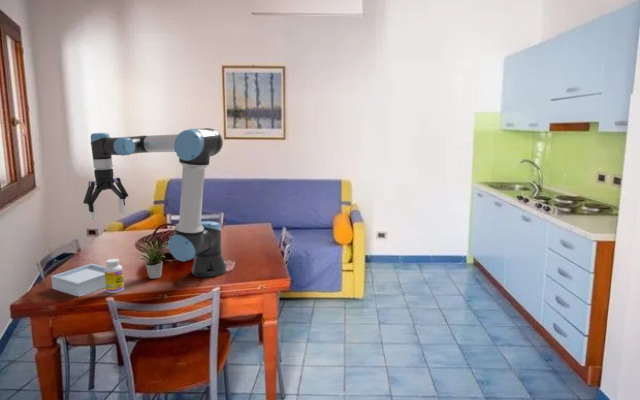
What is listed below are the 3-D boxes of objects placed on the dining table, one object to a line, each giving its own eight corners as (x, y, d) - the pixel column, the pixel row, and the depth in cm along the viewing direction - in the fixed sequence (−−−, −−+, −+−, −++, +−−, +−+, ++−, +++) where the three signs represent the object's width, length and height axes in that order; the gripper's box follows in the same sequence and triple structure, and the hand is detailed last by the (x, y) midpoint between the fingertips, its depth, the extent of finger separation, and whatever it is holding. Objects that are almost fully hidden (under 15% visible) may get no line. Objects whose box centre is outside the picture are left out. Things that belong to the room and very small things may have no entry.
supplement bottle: (117, 294, 180) (114, 263, 178) (102, 293, 182) (99, 262, 179) (127, 288, 187) (125, 258, 184) (113, 287, 188) (110, 257, 186)
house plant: (181, 272, 205) (178, 237, 202) (164, 283, 192) (161, 245, 189) (152, 269, 208) (150, 235, 205) (134, 280, 195) (131, 243, 192)
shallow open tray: (119, 282, 194) (118, 269, 193) (79, 296, 178) (77, 283, 177) (92, 275, 202) (91, 263, 201) (52, 288, 187) (50, 276, 186)
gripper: (123, 165, 211) (127, 210, 215) (70, 171, 190) (76, 220, 194) (133, 165, 207) (137, 211, 211) (81, 172, 186) (87, 222, 190)
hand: (108, 216), depth 203 cm, fingers open, 13 cm apart
